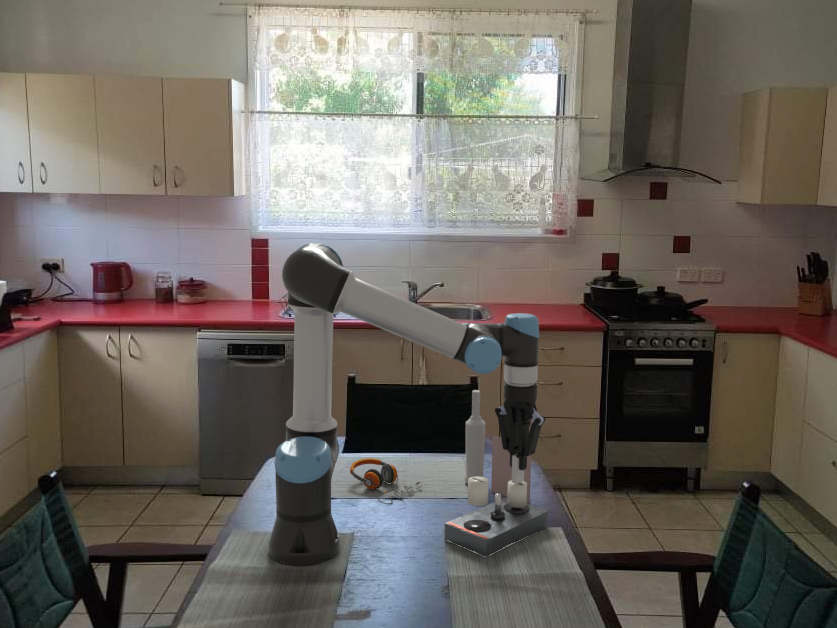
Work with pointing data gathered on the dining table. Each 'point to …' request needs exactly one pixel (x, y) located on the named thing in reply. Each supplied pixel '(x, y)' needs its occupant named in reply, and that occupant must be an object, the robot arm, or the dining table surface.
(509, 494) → the knob far
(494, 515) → the potentiometer stem
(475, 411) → the bottle
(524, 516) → the mount
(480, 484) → the knob near
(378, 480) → the headphones
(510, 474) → the greeting card
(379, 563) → the dining table surface
